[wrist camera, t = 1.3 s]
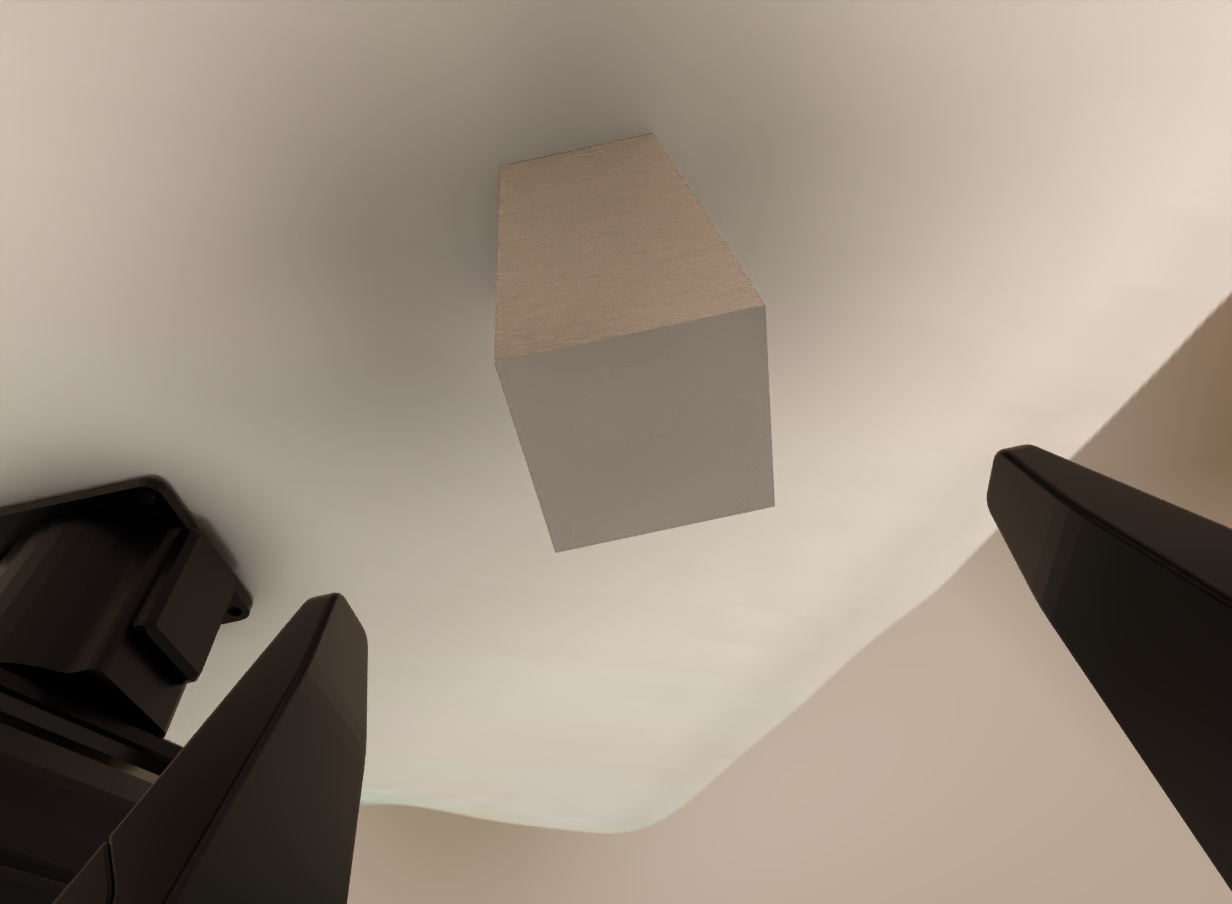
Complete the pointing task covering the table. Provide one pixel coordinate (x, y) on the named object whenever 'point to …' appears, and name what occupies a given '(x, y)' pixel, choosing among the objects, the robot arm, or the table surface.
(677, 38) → the table surface
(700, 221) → the steel peg
